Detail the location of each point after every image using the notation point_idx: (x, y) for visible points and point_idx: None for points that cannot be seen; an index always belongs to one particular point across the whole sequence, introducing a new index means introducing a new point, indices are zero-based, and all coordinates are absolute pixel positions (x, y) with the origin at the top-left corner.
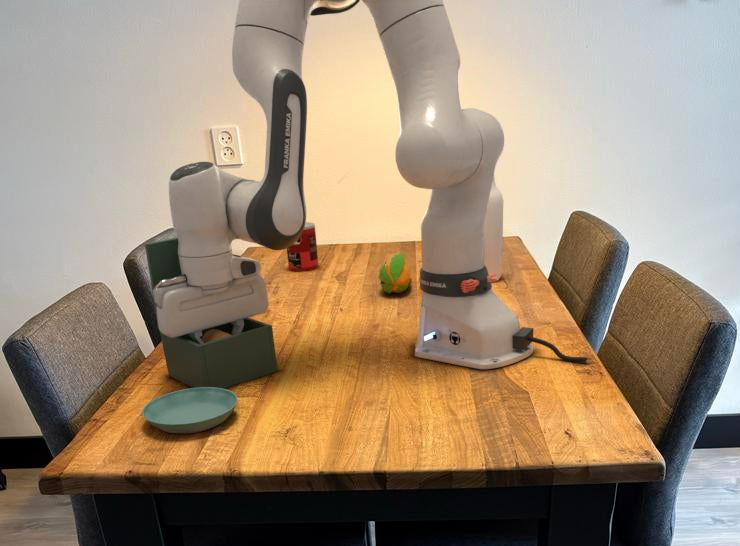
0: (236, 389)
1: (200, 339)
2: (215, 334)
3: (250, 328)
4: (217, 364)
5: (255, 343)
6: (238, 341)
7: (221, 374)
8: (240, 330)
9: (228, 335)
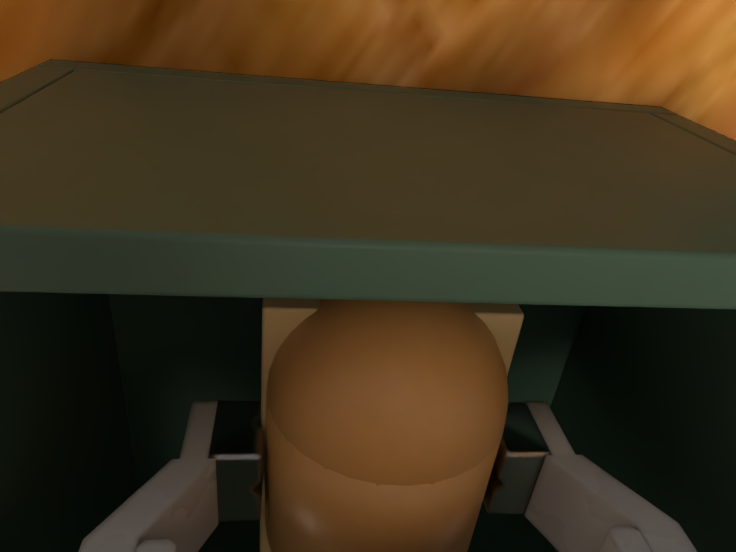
0: (501, 3)
1: (620, 501)
2: (441, 521)
3: (12, 506)
4: (651, 154)
5: (177, 161)
6: (430, 203)
7: (582, 124)
8: (156, 493)
9: (375, 431)
